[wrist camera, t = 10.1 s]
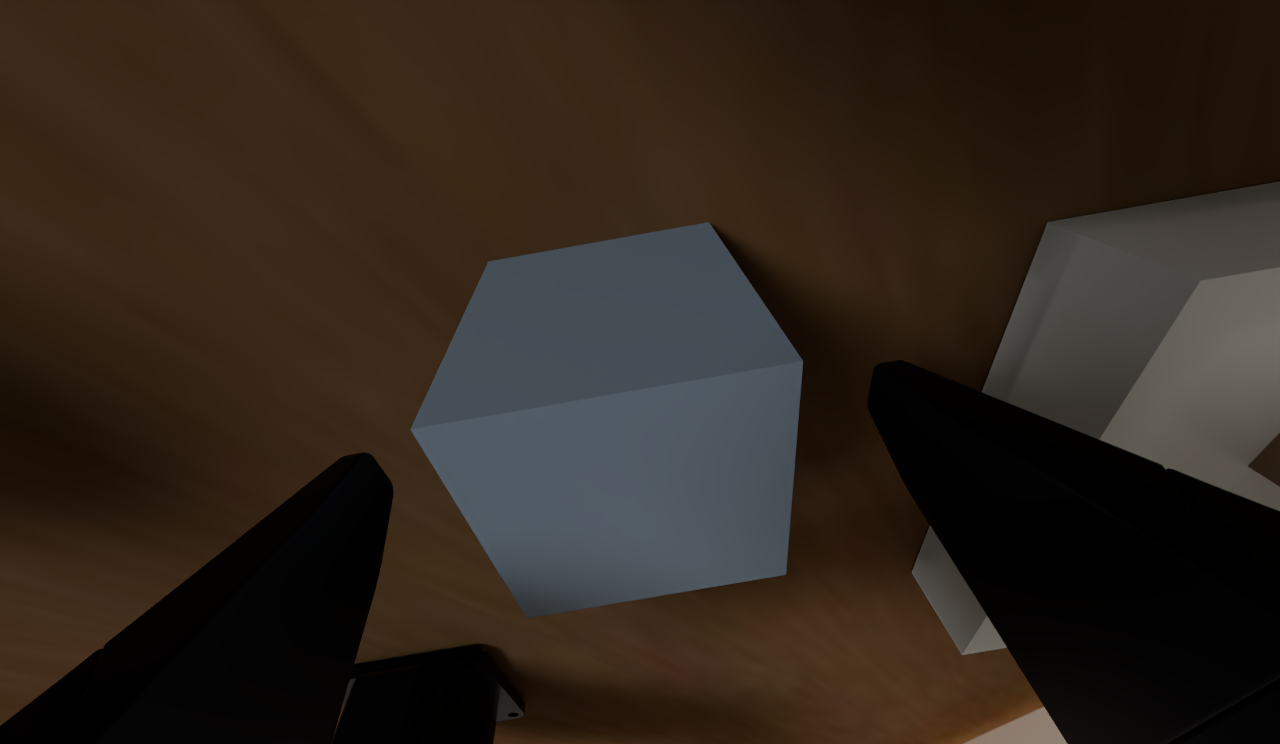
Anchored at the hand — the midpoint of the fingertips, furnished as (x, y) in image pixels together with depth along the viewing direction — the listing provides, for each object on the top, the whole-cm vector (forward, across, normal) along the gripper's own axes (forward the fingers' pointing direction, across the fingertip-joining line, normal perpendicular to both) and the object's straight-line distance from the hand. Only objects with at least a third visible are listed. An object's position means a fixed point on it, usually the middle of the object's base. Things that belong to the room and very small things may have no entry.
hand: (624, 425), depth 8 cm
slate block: (+3, 0, 0) cm, 3 cm away
